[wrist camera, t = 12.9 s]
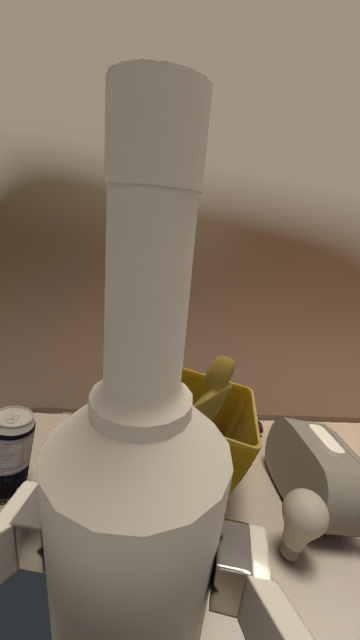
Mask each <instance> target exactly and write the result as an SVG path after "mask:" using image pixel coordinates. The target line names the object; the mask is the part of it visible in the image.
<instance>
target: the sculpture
mask: <svg viewBox="0 0 360 640" xmlns="http://www.w3.org/2000/svg"><path fill="white" fill-rule="evenodd" d="M234 368H235V361H234V360H233V359H231V358H228V357H225V356H218V357H216V358H215V360H214V361H213V362H212V363H211V365H210V366H209V368H208V370H207V372H206V376H205V380H206V382H207V383H208V385H209V386H210V390H209V391H208V392H206V393H205V394H203V395H202V396H201V398H200V399H199V400H198V401H197V402H196V403H195V404H194V405H193V406H194V407H195V408H196V409H198V410H199V411H200V412H201V413H202V414H204V415H205V416H206V417H207V418H208V419H210V420H211V421H212V420H213V418H214V417H215V415H216V414H217V413H218V411H219V410H220V408H221V406H222V405H223V403H224V401H225V400H226V398H227V396H228V394H229V392H230V390H231V387H232V384H230V385H229V386H227V384H228V383H229V381H230V379H231V377H232V375H233V372H234ZM226 386H227V387H226ZM225 387H226V388H225Z"/></svg>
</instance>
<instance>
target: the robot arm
mask: <svg viewBox="0 0 360 640" xmlns="http://www.w3.org/2000/svg"><path fill="white" fill-rule="evenodd" d="M17 568H19V569H24V570H29V571H35V572H40V573H44V572H45V560H44V549H43V538H42V527H41V516H40V505H39V494H38V483H37V482H35V481H30V480H27V481H25V482H24V483H22V484H21V486H20V487H19V488H18V490H17V491H16V492H15V493H14V495H13V496H12V497H11V499H10V500H9V501H8V502H7V504H6V505H5V506H4V507H3V509H2V510H1V511H0V584H2V583H3V582H4V581H5V580H6V579H8V578H9V577H10V576H11V575H12V574H14V573H15V572H16V571H17V570H18V569H17ZM209 611H211V612H215V613H219V614H222V615H226V616H230V617H234V618H238V623H239V625H240V627H241V630H242V632H243V634H244V637H245V639H246V640H315V639H314V637H313V636H312V634H311V633H310V631H309V630H308V628H307V627H306V625H305V624H304V622H303V621H302V619H301V618H300V616H299V614H298V613H297V611H296V610H295V608H294V607H293V605H292V604H291V602H290V601H289V599H288V598H287V596H286V595H285V593H284V592H283V590H282V589H281V587H280V585H279V584H278V582H277V581H273V580H272V578H271V569H270V561H269V552H268V544H267V535H266V529H265V527H264V526H259V525H254V524H248V523H244V522H239V521H233V520H228V519H224V520H223V525H222V530H221V535H220V540H219V545H218V547H217V552H216V557H215V562H214V570H213V573H212V579H211V584H210V600H209Z"/></svg>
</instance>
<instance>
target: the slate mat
mask: <svg viewBox="0 0 360 640" xmlns="http://www.w3.org/2000/svg"><path fill="white" fill-rule="evenodd" d="M17 569H18V570H17V571H16V572H15V573H14V574H12V575H11V576H10V577H9V578H8V579H6V580H5V581H4V582H3V583H2V584H0V640H52V636H51V625H50V614H49V603H48V592H47V581H46V570H45V572H44V573H40V572H35V571H29V570H24V569H19V568H17Z"/></svg>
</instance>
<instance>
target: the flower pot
mask: <svg viewBox="0 0 360 640" xmlns="http://www.w3.org/2000/svg"><path fill="white" fill-rule="evenodd" d="M205 376H206V374H203V373H199V372H196V371H193V370H189V369H186V368H183V367H182V377H181V382H182V383H184V384H185V385H186V386H187V387H188V389H189V390H190V391H191V393H192V394H193V405H194V404H195V403H196V402H197V401H198V400H199V399H200V398H201V396H202V395H203V394H205V393H206V392H208V391H209V390H210V386H209V385H208V383H207V382H206V380H205ZM230 384H232V387H231V390H230V392H229V394H228V396H227V398H226V400H225V401H224V403H223V405H222V406H221V408H220V410H219V411H218V413H217V414H216V415H215V417H214V418H213V420H212V422H213V423H214V424H215V425H216V427H217V428H218V429H219V431H220V432H221V434H222V435H223V436H224V438H225V439H226V440H227V442H228V443H229V446H230V452H231V458H232V464H233V475H232V480H231V485H230V490H229V495H230V494H231V493H232V491H233V490H234V489H235V488H236V486H237V485H238V484H239V482H240V481H241V480H242V478H243V477H244V475H245V474H246V472H247V471H248V469H249V468H250V466H251V465H252V463H253V461H254V460H255V458H256V456H257V454H258V453H259V451H260V449H261V440H260V433H259V426H258V420H257V413H256V407H255V400H254V392H253V390H252V389H251V388H249V387H246V386H243V385H239V384H236V383H232V382H229V383H228V384H227V386H229V385H230ZM227 386H226V387H227ZM226 387H225V388H226ZM229 495H228V496H229Z"/></svg>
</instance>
